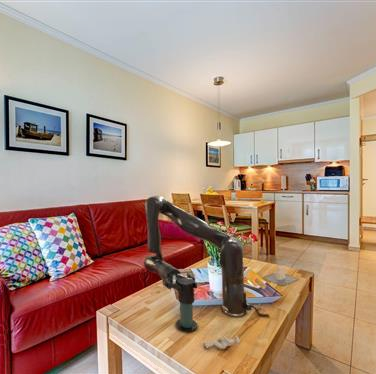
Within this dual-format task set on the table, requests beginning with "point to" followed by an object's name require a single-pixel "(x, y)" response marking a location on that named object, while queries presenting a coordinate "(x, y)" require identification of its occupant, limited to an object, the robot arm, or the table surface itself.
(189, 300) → the black cylinder
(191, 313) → the green post with base
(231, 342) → the soldier figure
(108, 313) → the table surface
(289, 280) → the architectural model
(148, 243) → the robot arm
